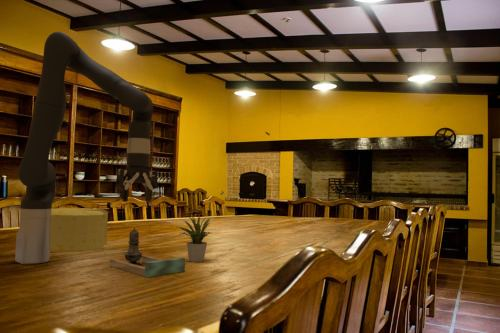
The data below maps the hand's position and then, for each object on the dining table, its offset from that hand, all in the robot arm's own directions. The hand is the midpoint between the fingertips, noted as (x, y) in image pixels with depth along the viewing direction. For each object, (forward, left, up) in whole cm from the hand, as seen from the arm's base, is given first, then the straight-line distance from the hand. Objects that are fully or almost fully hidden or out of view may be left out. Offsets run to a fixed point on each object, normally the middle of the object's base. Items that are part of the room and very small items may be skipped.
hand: (136, 201), depth 140 cm
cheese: (+1, +46, -21) cm, 50 cm away
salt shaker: (-1, -1, -21) cm, 21 cm away
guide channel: (-1, -8, -20) cm, 22 cm away
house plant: (+21, -7, -21) cm, 30 cm away
